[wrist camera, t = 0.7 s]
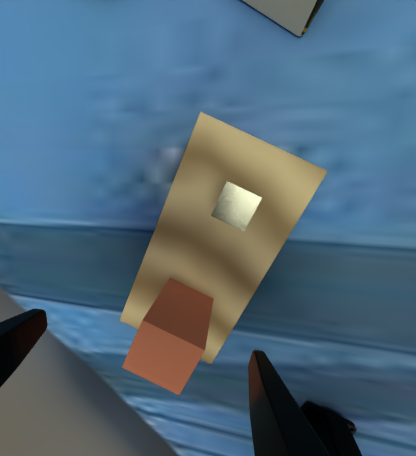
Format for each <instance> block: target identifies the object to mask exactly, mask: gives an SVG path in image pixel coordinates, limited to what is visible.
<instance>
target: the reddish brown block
mask: <svg viewBox="0 0 416 456" xmlns="http://www.w3.org/2000/svg"><path fill="white" fill-rule="evenodd" d="M213 300H214V299H213V298H211V297H209V296H207V295H205V294H203V293H201V292H199V291H197V290H195V289H192V288H190V287H188V286H186V285H184V284H182V283H180V282H178V281H176V280H174V279H172V278H169V280H168V281H167V283H166V284H165V286H164V288H163V289H162V291H161V292H160V294H159V295H158V297H157V298H156V300H155V301H154V303H153V304H152V306H151V307H150V309H149V311H148V312H147V314H146V315H145V317H144V318H143V320H142V322H141V324H140V327H139V329H138V331H137V334H136V336H135V338H134V341H133V343H132V345H131V348H130V350H129V352H128V355H127V357H126V359H125V362H124V364H123V366H122V368H124V369H126V370H128V371H131V372H133V373H135V374H137V375H139V376H141V377H143V378H145V379H147V380H149V381H151V382H153V383H155V384H157V385H159V386H161V387H163V388H165V389H167V390H170V391H172V392H174V393H176V394H178V395H180V393H181V391H182V389H183V388H184V386H185V384H186V383H187V381H188V379H189V377H190V376H191V374H192V372H193V370H194V369H195V367H196V365H197V363H198V362H199V360H200V358H201V356H202V355H203V353H204V351H205V348H206V342H207V336H208V330H209V324H210V318H211V312H212V306H213Z"/></svg>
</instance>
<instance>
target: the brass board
mask: <svg viewBox="0 0 416 456" xmlns="http://www.w3.org/2000/svg"><path fill="white" fill-rule="evenodd" d="M327 172H328V171H327V170H324V169H322V168H320V167H318V166H316V165H314V164H312V163H309V162H307V161H305V160H303V159H301V158H299V157H297V156H294V155H292V154H290V153H288V152H286V151H284V150H282V149H279V148H277V147H275V146H273V145H271V144H269V143H267V142H264V141H262V140H260V139H258V138H256V137H254V136H252V135H249V134H247V133H245V132H243V131H241V130H239V129H237V128H234V127H232V126H230V125H228V124H226V123H224V122H222V121H219V120H217V119H215V118H213V117H211V116H209V115H207V114H204V113H202V112H200V114H199V117H198V120H197V122H196V125H195V127H194V130H193V132H192V135H191V138H190V140H189V143H188V145H187V148H186V150H185V153H184V156H183V158H182V161H181V163H180V166H179V169H178V171H177V174H176V176H175V179H174V181H173V184H172V187H171V189H170V192H169V194H168V197H167V199H166V202H165V205H164V207H163V210H162V212H161V215H160V217H159V220H158V223H157V225H156V228H155V230H154V233H153V235H152V238H151V241H150V243H149V246H148V248H147V251H146V254H145V256H144V259H143V261H142V264H141V266H140V269H139V272H138V274H137V277H136V279H135V282H134V284H133V287H132V290H131V292H130V295H129V297H128V300H127V302H126V305H125V308H124V310H123V313H122V315H121V318H120V321H122V322H124V323H126V324H128V325H131V326H133V327H135V328H137V329H139V327H140V324H141V322H142V320H143V318H144V317H145V315H146V314H147V312H148V311H149V309H150V307H151V306H152V304H153V303H154V301H155V300H156V298H157V297H158V295H159V294H160V292H161V291H162V289H163V288H164V286H165V284H166V283H167V281H168V280H169V278H172V279H174V280H176V281H178V282H180V283H182V284H184V285H186V286H188V287H190V288H192V289H195V290H197V291H199V292H201V293H203V294H205V295H207V296H209V297H211V298H213V299H214V300H213V306H212V312H211V318H210V324H209V330H208V336H207V342H206V348H205V351H204V353H203V355H202V356H201V358H200V359H201V360H203V361H205V362H207V363H209V364H212V362H213V360H214V359H215V357H216V355H217V354H218V352H219V350H220V349H221V347H222V345H223V344H224V342H225V340H226V339H227V337H228V336H229V334H230V332H231V331H232V329H233V327H234V326H235V324H236V322H237V321H238V319H239V317H240V316H241V314H242V312H243V311H244V309H245V307H246V306H247V304H248V302H249V301H250V299H251V297H252V296H253V294H254V292H255V291H256V289H257V287H258V286H259V284H260V283H261V281H262V279H263V278H264V276H265V274H266V273H267V271H268V269H269V268H270V266H271V264H272V263H273V261H274V259H275V258H276V256H277V254H278V253H279V251H280V249H281V248H282V246H283V244H284V243H285V241H286V239H287V238H288V236H289V234H290V233H291V231H292V230H293V228H294V226H295V225H296V223H297V221H298V220H299V218H300V216H301V215H302V213H303V211H304V210H305V208H306V206H307V205H308V203H309V201H310V200H311V198H312V196H313V195H314V193H315V191H316V190H317V188H318V186H319V185H320V183H321V182H322V180H323V178H324V177H325V175H326V173H327ZM227 181H230V182H232V183H234V184H237V185H239V186H241V187H243V188H245V189H247V190H249V191H251V192H254V193H255V194H257V195H259V196H260V197H262V199H261V201H260V203H259V205H258V206H257V208H256V210H255V212H254V214H253V216H252V218H251V220H250V222H249V223H248V225H247V227H246V229H245V231H242V230H240V229H238V228H236V227H233V226H231V225H229V224H227V223H225V222H223V221H221V220H219V219H217V218H214V217H212V216H211V214H212V212H213V210H214V208H215V205H216V203H217V201H218V199H219V197H220V195H221V193H222V190H223V188H224V186H225V184H226V182H227Z"/></svg>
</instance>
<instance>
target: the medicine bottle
mask: <svg viewBox="0 0 416 456" xmlns="http://www.w3.org/2000/svg"><path fill="white" fill-rule="evenodd" d="M242 1H244V2H246V3H247V4H249V5H250V6H252V7H253V8H255V9H256V10H258V11H259V12H261V13H263V14H264V15H266V16H267V17H269V18H270V19H272V20H273V21H275V22H277V23H278V24H280V25H281V26H283V27H284V28H286V29H287V30H289V31H291V32H292V33H294V34H295V35H297V36H299V37H300V36H302V35H303V34H304V33H305V32H306V30H307V28H308V27H309V25H310V23H311V22H312V20H313V18H314V17H315V15H316V13H317V12H318V10H319V8H320V6H321V5H322V3H323V1H324V0H242Z"/></svg>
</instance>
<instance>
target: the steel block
mask: <svg viewBox="0 0 416 456" xmlns="http://www.w3.org/2000/svg"><path fill="white" fill-rule="evenodd" d="M261 199H262V197H260V196H259V195H257V194H255V193H254V192H251V191H249V190H247V189H245V188H243V187H241V186H239V185H237V184H234V183H232V182H230V181H227V182H226V184H225V186H224V188H223V190H222V193H221V195H220V197H219V199H218V201H217V203H216V205H215V208H214V210H213V212H212V214H211V216H212V217H214V218H217V219H219V220H221V221H223V222H225V223H227V224H229V225H231V226H233V227H236V228H238V229H240V230H242V231H245V229H246V227H247V225H248V223H249V222H250V220H251V218H252V216H253V214H254V212H255V210H256V208H257V206H258V205H259V203H260V201H261Z"/></svg>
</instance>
